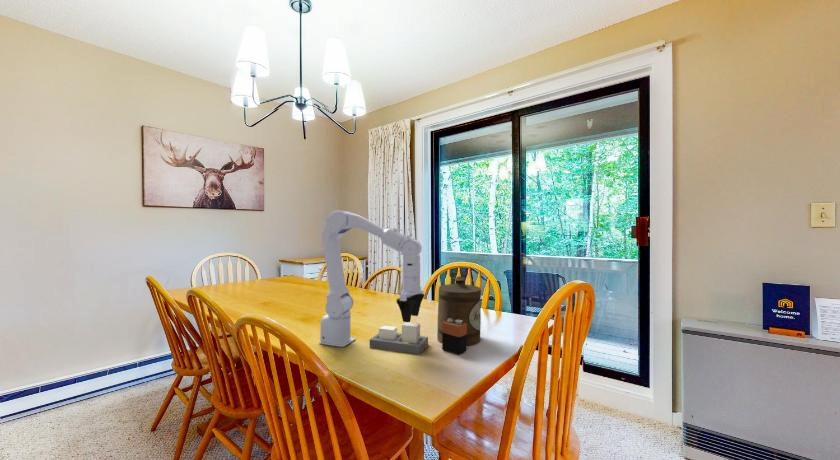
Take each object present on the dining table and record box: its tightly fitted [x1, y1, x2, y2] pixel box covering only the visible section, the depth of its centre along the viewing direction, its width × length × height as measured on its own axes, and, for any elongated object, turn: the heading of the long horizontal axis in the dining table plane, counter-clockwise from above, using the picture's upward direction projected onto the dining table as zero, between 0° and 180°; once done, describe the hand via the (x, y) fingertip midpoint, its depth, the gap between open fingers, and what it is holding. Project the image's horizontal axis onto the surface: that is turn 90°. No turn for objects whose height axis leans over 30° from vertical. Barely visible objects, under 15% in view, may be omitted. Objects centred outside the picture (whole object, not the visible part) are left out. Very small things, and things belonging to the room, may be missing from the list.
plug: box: [401, 322, 421, 344], centre depth 109 cm, size 5×4×7 cm
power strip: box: [369, 325, 429, 355], centre depth 111 cm, size 17×9×6 cm, turn 71°
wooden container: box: [436, 275, 482, 347], centre depth 117 cm, size 15×15×22 cm
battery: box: [441, 318, 467, 356], centre depth 107 cm, size 4×7×10 cm, turn 49°
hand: (410, 318), depth 109 cm, fingers open, 7 cm apart
